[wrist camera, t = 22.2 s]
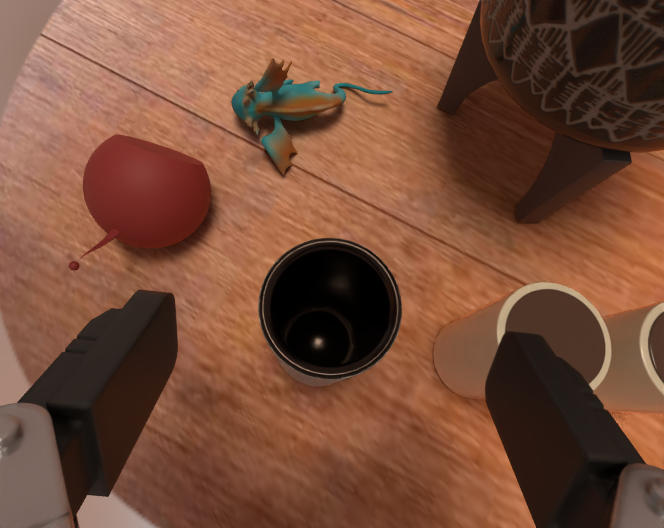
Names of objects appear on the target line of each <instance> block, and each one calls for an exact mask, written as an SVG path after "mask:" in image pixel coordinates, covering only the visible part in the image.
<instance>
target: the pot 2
mask: <svg viewBox="0 0 664 528" xmlns="http://www.w3.org/2000/svg"><path fill="white" fill-rule="evenodd" d="M602 318H603V320H604V322H605V324H606V327H607V329H608V332H609V336H610V341H611V361H610V366H609V369H608V372H607V374H606V376H605V378H604V379H603V381H602V382H601V384H600V385H599V386H598V387H597V388H596V389H595V390H594V391H593V394H596V395H597V397H598V398H599V399H600V401H601V402H602V403H603V405H604V409H607V410H608V412H624V413H644V414H663V415H664V301H662V302H658V303H654V304H650V305H646V306H643V307H639V308H635V309H631V310H627V311H623V312H620V313H616V314H612V315H608V316H604V317H602Z"/></svg>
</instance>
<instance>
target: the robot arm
mask: <svg viewBox="0 0 664 528" xmlns="http://www.w3.org/2000/svg"><path fill="white" fill-rule="evenodd" d="M177 351H178V340H177V324H176V308H175V298H174V295H173V294H172V293H166V292H157V291H148V290H138V291H136V292H135V294H134V295H133V296H132V297H131V298H130V300H129V301H128V302H127V303H126V304H125V306H124V307H123V308H122V309H115V308H111V309H110V310H108V311H106V312H104V313H103V314H101V315H99V316H97V317H96V318H94V319H92V320H91V321H90V322H89V323H88V324H87V325H86V326H85V327H84V329H83V330H82V331H81V332H80V333H79V334H78V335H77V339H74V340H73V341H72V342H71V343H70V344H69V345H68V346H67V348H66V350H65V352H62V353H61V354H60V355H59V356H58V358H57V359H56V360H55V361H54V362H53V363H52V364H51V365H50V367H49V368H48V369H47V370H46V371H45V372H44V373H43V374H42V375H41V377H40V378H39V379H38V380H37V381H36V382H35V383H34V384H33V385H32V387H31V388H30V389H29V390H28V391H27V392H26V393H25V394H24V396H23V397H22V398H21V399H20V400H19V401H18V402H17V403H14V404H8V405H3V406H0V528H79V524H78V519H77V515H76V514H77V512H78V510H79V509H80V507H81V505H82V503H83V502H84V499H85V498H86V496H87V495H95V496H106V497H108V496H109V494H110V492H111V490H112V489H113V487H114V485H115V483H116V481H117V479H118V477H119V475H120V473H121V471H122V469H123V467H124V465H125V463H126V461H127V459H128V457H129V455H130V453H131V451H132V449H133V447H134V445H135V444H136V442H137V440H138V438H139V436H140V434H141V432H142V430H143V428H144V426H145V424H146V422H147V420H148V418H149V416H150V414H151V412H152V410H153V408H154V406H155V404H156V402H157V400H158V398H159V397H160V395H161V393H162V391H163V389H164V387H165V385H166V383H167V381H168V379H169V377H170V375H171V373H172V371H173V368H174V366H175V362H176V358H177ZM485 399H486V403H487V406H488V409H489V411H490V414H491V416H492V419H493V421H494V424H495V426H496V429H497V431H498V434H499V436H500V439H501V441H502V443H503V446H504V448H505V451H506V453H507V456H508V458H509V461H510V463H511V466H512V468H513V471H514V473H515V476H516V478H517V481H518V483H519V486H520V488H521V491H522V493H523V496H524V498H525V501H526V503H527V506H528V508H529V511H530V513H531V516H532V518H533V520H534V523H535V525H536V528H664V470H662V469H660V468H657V467H655V466H651V465H647V464H646V463H645V461H644V460H643V459H642V457H641V456H640V455H639V453H638V452H637V450H636V449H635V448H634V446H633V445H632V444H631V442H630V441H629V439H628V438H627V437H626V435H625V434H624V432H623V431H622V430H621V428H620V427H619V426H618V424H617V423H616V421H615V420H614V419H613V417H612V416H611V414H610V413H609V412H608V410H607V409H604V405H603V403H602V402H601V401H600V399H599V398H598V397H597V395H596V394H593V390H592V388H591V387H590V385H589V384H588V383H587V381H586V380H585V379H584V377H583V376H582V374H581V373H580V372H578V371H577V370H576V369H575V368H574V367H572V366H571V365H570V364H569V363H568V362H566V361H565V360H564V359H563V358H561V357H557V356H556V355H555V353H554V352H553V350H552V349H551V347H550V346H549V344H548V343H547V342H546V340H545V339H544V337H543V336H541V335H540V334H533V333H523V332H514V331H507V332H505V334H504V335H503V336H502V339H501V341H500V344H499V346H498V349H497V352H496V354H495V357H494V360H493V362H492V365H491V368H490V370H489V373H488V376H487V379H486V383H485Z"/></svg>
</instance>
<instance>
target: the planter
mask: <svg viewBox="0 0 664 528" xmlns="http://www.w3.org/2000/svg"><path fill="white" fill-rule="evenodd" d="M495 80H499V82H500V83H501V85H502V86H503V87H504V89H505V90H506V92H507V93H508V94H509V95H510V96H511V97H512V99H513V100H514V101H515V102H516V103H517V104H518V105H519V106H520V107H521V108H522V109H523V110H524V111H526V112H527V113H528V114H529V115H531V116H532V117H533V118H534V119H536V120H537V121H538V122H540V123H541V124H543V125H545V126H546V127H548V128H549V129H551V130H553V131H554V132H556V135H555V138H554V141H553V145H552V148H551V150H550V153H549V155H548V158H547V160H546V162H545V164H544V167H543V169H542V171H541V172H540V174H539V176H538V177H537V179H536V181H535V182H534V184H533V185H532V187H531V188H530V189H529V191H528V192H527V193H526V194H525V195H524V196H523V198H522V199H521V200H520V201H519V202H518V203H517V205H516V213H517V221H518V222H527V223H539V222H540V221H542V220H543V219H545V218H546V217H548V216H550V215H551V214H553V213H554V212H556V211H557V210H559V209H560V208H562V207H564V206H565V205H567V204H568V203H570V202H571V201H573V200H574V199H576V198H578V197H579V196H581V195H582V194H584V193H585V192H587V191H588V190H590V189H592V188H593V187H595V186H596V185H598V184H599V183H601V182H602V181H604V180H606V179H607V178H609V177H610V176H612V175H613V174H615V173H617V172H618V171H620V170H621V169H623V168H624V167H626V166H627V165H629V164H631V163H632V161H631V156H630V152H632V153H642V152H651V151H661V150H664V0H480V1H479V3H478V6H477V8H476V11H475V13H474V16H473V18H472V21H471V23H470V26H469V28H468V31H467V33H466V36H465V38H464V41H463V43H462V46H461V48H460V51H459V53H458V56H457V58H456V61H455V64H454V66H453V69H452V71H451V74H450V76H449V79H448V81H447V84H446V86H445V89H444V91H443V94H442V96H441V99H440V101H439V104H438V107H439V108H441V109H443V110H445V111H447V112H448V113H450V114H453V113H454V112H455V111H456V110H457V108H458V107H459V106H460V105H461V103H462V102H463V101H464V100H465V98H467V97H468V96H469V95H470V94H471V93H472V92H474V91H475V90H477V89H478V88H479V87H481V86H483V85H485V84H487V83H489V82H492V81H495Z"/></svg>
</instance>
